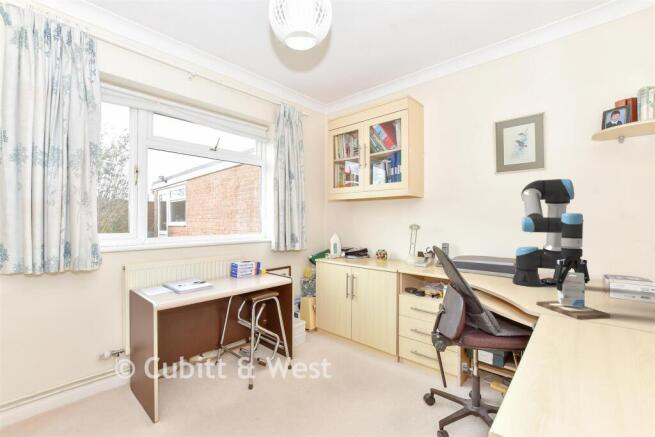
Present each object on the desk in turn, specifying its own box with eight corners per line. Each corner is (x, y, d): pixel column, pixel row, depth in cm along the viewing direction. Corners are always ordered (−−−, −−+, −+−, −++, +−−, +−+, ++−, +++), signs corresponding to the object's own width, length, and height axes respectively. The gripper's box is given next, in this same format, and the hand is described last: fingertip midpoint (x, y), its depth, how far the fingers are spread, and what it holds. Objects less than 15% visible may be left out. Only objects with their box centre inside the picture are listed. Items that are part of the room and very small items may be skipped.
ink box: (581, 304, 135) (582, 271, 135) (584, 307, 131) (585, 273, 130) (558, 301, 139) (558, 269, 139) (560, 304, 135) (560, 271, 134)
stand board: (536, 304, 143) (536, 301, 143) (565, 303, 146) (565, 299, 146) (577, 319, 124) (577, 314, 124) (609, 317, 126) (609, 313, 126)
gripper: (557, 248, 129) (557, 300, 129) (601, 248, 132) (600, 298, 133) (542, 246, 137) (542, 296, 137) (584, 246, 140) (583, 294, 140)
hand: (570, 297), depth 135 cm, fingers closed on ink box, 9 cm apart
